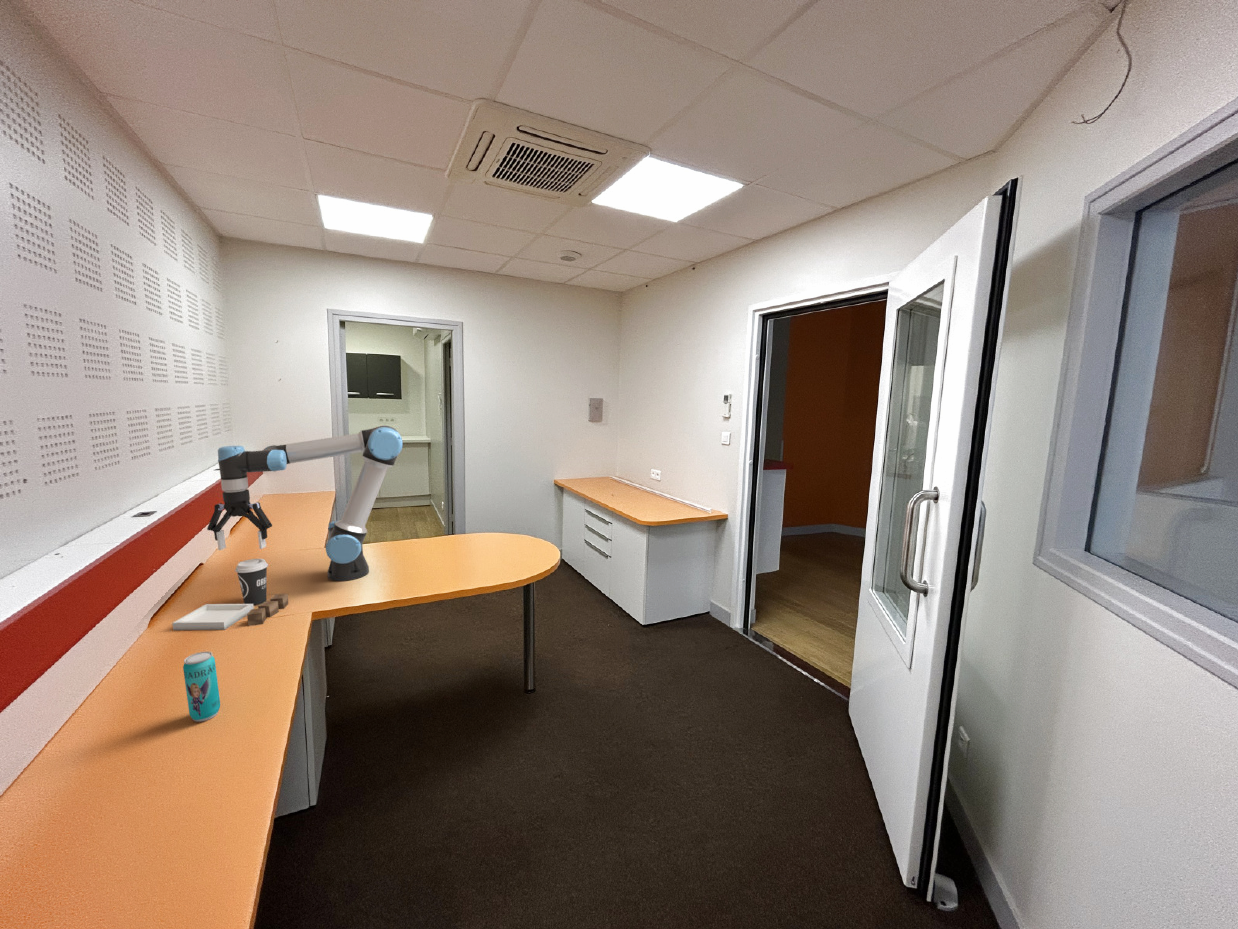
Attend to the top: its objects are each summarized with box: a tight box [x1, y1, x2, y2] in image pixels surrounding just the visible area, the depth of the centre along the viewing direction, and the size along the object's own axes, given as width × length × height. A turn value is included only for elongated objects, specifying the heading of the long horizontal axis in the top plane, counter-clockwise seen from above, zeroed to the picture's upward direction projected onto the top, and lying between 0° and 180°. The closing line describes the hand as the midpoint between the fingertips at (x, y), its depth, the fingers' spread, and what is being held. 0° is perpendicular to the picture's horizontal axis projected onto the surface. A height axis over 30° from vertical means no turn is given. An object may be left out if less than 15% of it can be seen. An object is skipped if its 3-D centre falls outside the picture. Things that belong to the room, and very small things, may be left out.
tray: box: [171, 603, 255, 631], centre depth 171 cm, size 16×14×2 cm
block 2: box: [257, 600, 280, 618], centre depth 176 cm, size 4×4×4 cm
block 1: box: [246, 608, 267, 627], centre depth 170 cm, size 4×4×4 cm
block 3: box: [269, 593, 290, 610], centre depth 181 cm, size 4×4×4 cm
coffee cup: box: [234, 558, 269, 607], centre depth 184 cm, size 10×10×15 cm
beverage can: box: [182, 651, 221, 723], centre depth 121 cm, size 6×6×15 cm
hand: (242, 548), depth 184 cm, fingers open, 13 cm apart
